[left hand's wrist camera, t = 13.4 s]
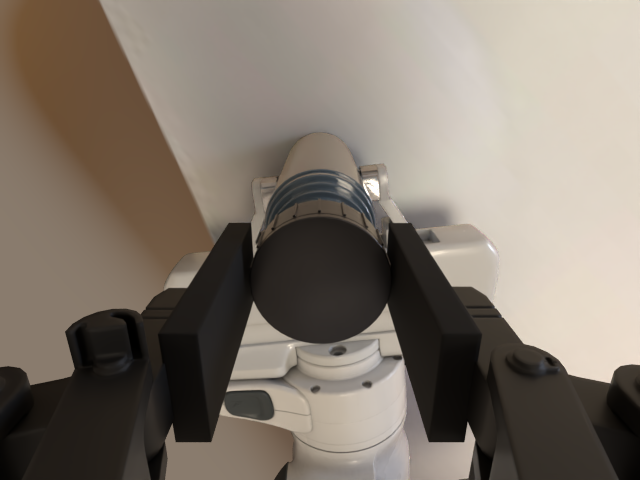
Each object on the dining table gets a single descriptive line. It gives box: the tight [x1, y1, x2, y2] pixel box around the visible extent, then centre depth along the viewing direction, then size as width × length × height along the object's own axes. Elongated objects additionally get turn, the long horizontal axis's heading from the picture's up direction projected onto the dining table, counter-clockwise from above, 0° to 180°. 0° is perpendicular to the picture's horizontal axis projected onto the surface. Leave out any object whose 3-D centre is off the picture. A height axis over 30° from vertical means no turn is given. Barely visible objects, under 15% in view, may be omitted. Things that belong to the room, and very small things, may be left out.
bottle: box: [265, 132, 376, 230], centre depth 21 cm, size 5×5×18 cm
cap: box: [250, 199, 392, 344], centre depth 13 cm, size 4×4×2 cm
